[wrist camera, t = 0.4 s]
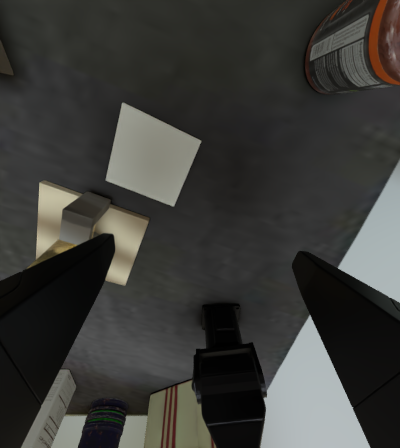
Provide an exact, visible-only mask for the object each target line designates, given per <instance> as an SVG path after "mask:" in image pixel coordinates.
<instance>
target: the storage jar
mask: <svg viewBox="0 0 400 448" xmlns="http://www.w3.org/2000/svg"><path fill="white" fill-rule="evenodd" d="M127 409H128V404H127V403H126V402H125V401H123V400H120V399H115V398H101V399H97V400H95V401H93V402H92V405H91V409H90V411H89V413H88V416H87V418H86V420H85V425H84V427H83V430H82V436H81V439H80V443H79V445H78V448H118V446H119V442H120V437H121V435H122V432H123V427H124V425H125V420H126V418H125V417H126V411H127Z"/></svg>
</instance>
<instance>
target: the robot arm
mask: <svg viewBox="0 0 400 448" xmlns="http://www.w3.org/2000/svg"><path fill="white" fill-rule="evenodd" d="M114 254H115V239H114V235H113V234H111V233H102V234H100V235H98V236H96V237H94V238H92V239H90V240H87V241H85V242H83V243H81V244H79V245H77V246H75V247H72V248H70V249H68V250H66V251H64V252H62V253H60V254H57V255H55V256H53V257H51V258H49V259H47V260H45V261H42V262H40V263H38V264H36V265H34V266H32V267H30V268H27V269H25V270H23V271H22V272H19V273H17V274H14V275H12V276H10V277H8V278H6V279H4V280H1V281H0V448H21V447H22V445H23V443H24V441H25V439H26V437H27V435H28V433H29V431H30V429H31V427H32V425H33V423H34V421H35V419H36V417H37V415H38V413H39V411H40V409H41V405H42V404H43V403H44V401H45V399H46V397H47V395H48V393H49V391H50V389H51V387H52V385H53V383H54V381H55V379H56V377H57V375H58V373H59V371H60V369H61V367H62V365H63V363H64V361H65V359H66V357H67V355H68V353H69V351H70V349H71V347H72V345H73V343H74V341H75V339H76V337H77V335H78V333H79V331H80V329H81V327H82V325H83V323H84V321H85V319H86V317H87V315H88V313H89V312H90V310H91V308H92V306H93V304H94V302H95V300H96V298H97V296H98V294H99V292H100V290H101V288H102V286H103V284H104V281H105V279H106V276H107V273H108V271H109V268H110V265H111V262H112V260H113V257H114ZM292 269H293V272H294V275H295V278H296V281H297V284H298V287H299V290H300V293H301V295H302V298H303V300H304V302H305V304H306V307H307V309H308V311H309V313H310V315H311V317H312V320H313V322H314V324H315V326H316V328H317V331H318V333H319V335H320V337H321V339H322V342H323V344H324V346H325V348H326V350H327V353H328V355H329V357H330V359H331V361H332V363H333V366H334V368H335V370H336V372H337V375H338V377H339V379H340V381H341V383H342V386H343V388H344V390H345V392H346V394H347V397H348V399H349V401H350V403H351V405H352V407H353V410H354V412H355V415H356V417H357V419H358V421H359V423H360V425H361V427H362V430H363V432H364V434H365V436H366V439H367V441H368V443H369V445H370V447H371V448H400V303H399V302H397V301H395V300H394V299H392V298H389V297H388V296H386V295H384V294H383V293H381V292H379V291H377V290H375V289H374V288H372V287H370V286H368V285H367V284H365V283H363V282H361V281H359V280H358V279H356V278H354V277H352V276H350V275H349V274H347V273H345V272H343V271H341V270H340V269H338V268H336V267H334V266H332V265H331V264H329V263H327V262H325V261H324V260H322V259H320V258H318V257H316V256H315V255H313V254H311V253H309V252H306V251H299V252H298V253H297V255H296V257H295V259H294V261H293V263H292ZM239 313H240V305H239V304H231V305H204V306H203V307H202V329H203V330H205V335H206V349H196V355H194V370H193V377H192V384H191V387H192V390H193V391H194V392H195V395H196V398H197V403H198V405H199V404H201V412H202V417H203V420H204V422H205V424H206V427H207V429H208V431H209V433H210V435H211V437H212V439H213V442H214V444H215V446H216V448H260V445H261V439H262V433H263V428H264V421H265V412H266V407H265V402H264V399H263V398H264V397H267V391H266V386H265V381H264V376H263V373H262V369H261V366H260V363H259V360H258V357H257V354H256V351H255V348H254V345H253V342H251V343H248V344H243V343H242V339H241V334H240V330H239V325H238V319H239Z"/></svg>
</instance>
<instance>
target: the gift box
mask: <svg viewBox="0 0 400 448" xmlns="http://www.w3.org/2000/svg"><path fill="white" fill-rule="evenodd" d="M191 384H192V380H190V381H187V382H184V383H181V384H177V385H175V386H173V387H170V388H167V389H165V390H162V391H159V392H157V393H154V394H151V396H150V403H149V410H148V418H147V426H146V434H145V442H144V448H216V446H215V444H214V442H213V439H212V437H211V435H210V433H209V431H208V429H207V427H206V424H205V422H204V420H203V417H202V412H201V404H199V405H198V403H197V398H196V395H195V392H194V391H193V390H192V387H191Z"/></svg>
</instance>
